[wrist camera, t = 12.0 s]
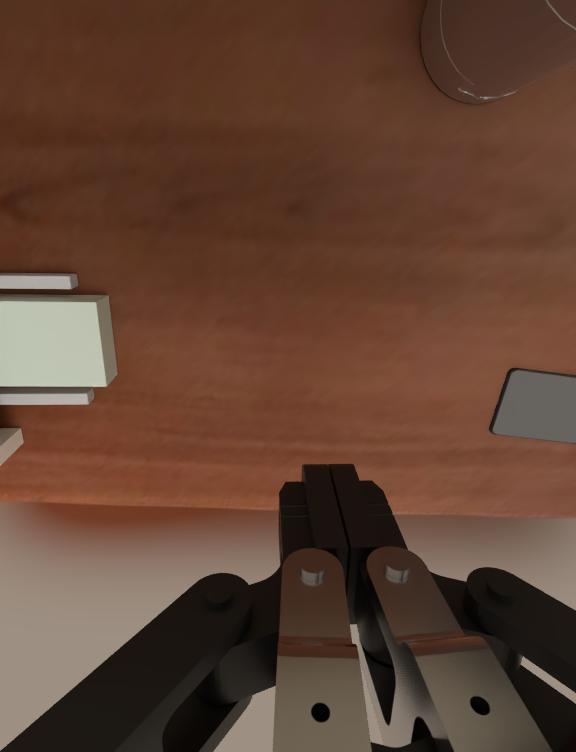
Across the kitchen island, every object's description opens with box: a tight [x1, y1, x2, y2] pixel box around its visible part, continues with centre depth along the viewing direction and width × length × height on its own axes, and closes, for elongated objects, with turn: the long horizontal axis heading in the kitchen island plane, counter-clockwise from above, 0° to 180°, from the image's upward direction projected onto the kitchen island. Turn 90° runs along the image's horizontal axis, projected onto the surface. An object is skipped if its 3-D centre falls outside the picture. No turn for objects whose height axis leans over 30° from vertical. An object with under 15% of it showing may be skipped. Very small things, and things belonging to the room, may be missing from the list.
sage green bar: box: [0, 294, 118, 387], centre depth 37 cm, size 7×16×3 cm, turn 89°
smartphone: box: [489, 368, 576, 444], centre depth 44 cm, size 7×1×15 cm
